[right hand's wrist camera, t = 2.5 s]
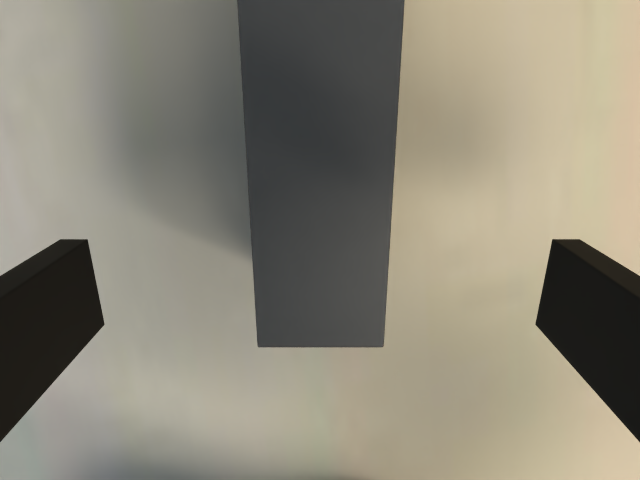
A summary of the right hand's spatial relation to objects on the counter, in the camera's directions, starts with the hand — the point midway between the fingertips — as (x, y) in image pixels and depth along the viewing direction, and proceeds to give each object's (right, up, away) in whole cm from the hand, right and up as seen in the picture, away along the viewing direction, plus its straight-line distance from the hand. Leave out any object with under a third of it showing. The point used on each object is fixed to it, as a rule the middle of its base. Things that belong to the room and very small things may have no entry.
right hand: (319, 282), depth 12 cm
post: (0, +28, +3) cm, 28 cm away
